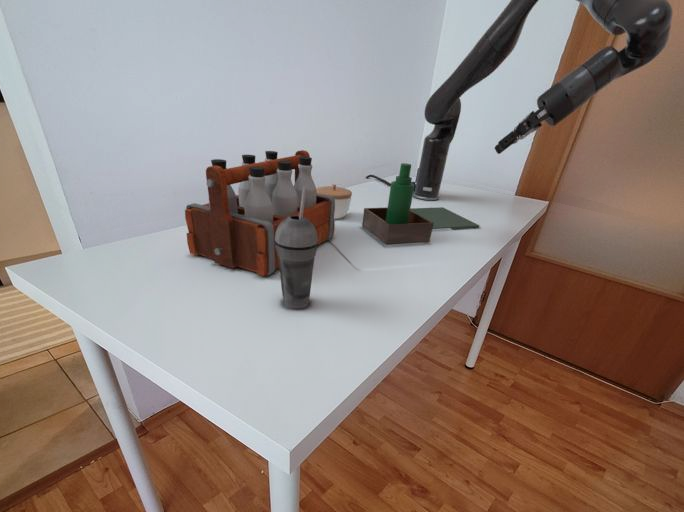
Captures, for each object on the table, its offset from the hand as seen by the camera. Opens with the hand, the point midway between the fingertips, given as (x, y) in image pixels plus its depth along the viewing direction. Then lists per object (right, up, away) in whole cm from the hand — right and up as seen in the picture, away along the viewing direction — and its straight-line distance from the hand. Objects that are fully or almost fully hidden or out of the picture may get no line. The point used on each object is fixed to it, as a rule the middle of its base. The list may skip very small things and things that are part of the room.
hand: (497, 148), depth 90 cm
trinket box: (-41, -9, +21) cm, 47 cm away
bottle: (-24, -17, +11) cm, 32 cm away
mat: (-7, -8, +27) cm, 29 cm away
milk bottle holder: (-57, -25, -1) cm, 62 cm away
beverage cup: (-48, -41, -23) cm, 67 cm away
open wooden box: (-24, -18, +12) cm, 32 cm away
